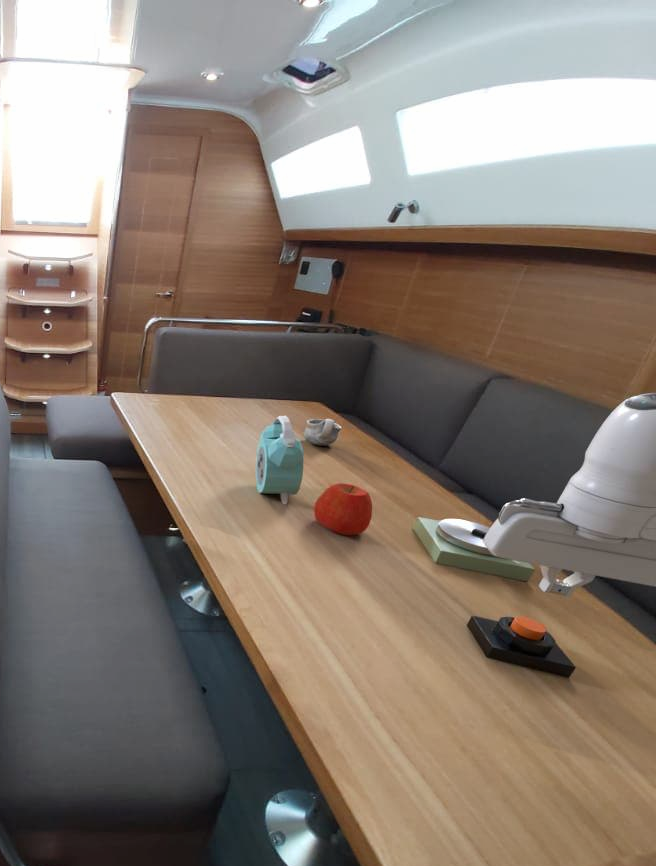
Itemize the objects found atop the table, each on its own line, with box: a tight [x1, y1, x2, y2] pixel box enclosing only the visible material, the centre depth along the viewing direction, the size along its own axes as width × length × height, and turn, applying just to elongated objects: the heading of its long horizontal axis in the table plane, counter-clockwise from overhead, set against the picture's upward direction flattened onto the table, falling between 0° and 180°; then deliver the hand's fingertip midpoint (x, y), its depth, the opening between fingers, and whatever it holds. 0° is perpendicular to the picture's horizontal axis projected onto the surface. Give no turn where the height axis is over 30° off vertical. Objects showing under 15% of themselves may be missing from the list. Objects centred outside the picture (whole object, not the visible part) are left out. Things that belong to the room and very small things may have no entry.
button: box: [510, 615, 547, 641], centre depth 77 cm, size 4×4×2 cm
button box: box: [466, 615, 577, 679], centre depth 78 cm, size 10×8×4 cm
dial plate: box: [412, 516, 536, 583], centre depth 104 cm, size 15×15×3 cm
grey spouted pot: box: [303, 418, 342, 447], centre depth 158 cm, size 10×12×10 cm
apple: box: [313, 482, 373, 536], centre depth 110 cm, size 11×11×11 cm
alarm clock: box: [255, 415, 305, 505], centre depth 123 cm, size 17×10×20 cm, turn 165°
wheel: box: [437, 518, 494, 556], centre depth 100 cm, size 14×12×9 cm
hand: (553, 591), depth 74 cm, fingers closed
